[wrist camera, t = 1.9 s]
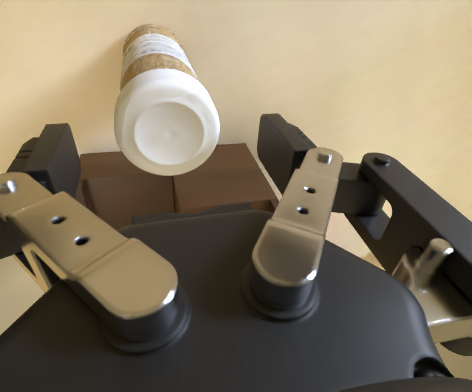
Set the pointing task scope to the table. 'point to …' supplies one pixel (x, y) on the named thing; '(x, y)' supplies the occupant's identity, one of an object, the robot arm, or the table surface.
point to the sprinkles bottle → (162, 106)
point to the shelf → (171, 186)
